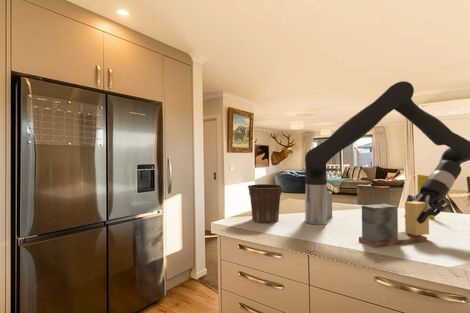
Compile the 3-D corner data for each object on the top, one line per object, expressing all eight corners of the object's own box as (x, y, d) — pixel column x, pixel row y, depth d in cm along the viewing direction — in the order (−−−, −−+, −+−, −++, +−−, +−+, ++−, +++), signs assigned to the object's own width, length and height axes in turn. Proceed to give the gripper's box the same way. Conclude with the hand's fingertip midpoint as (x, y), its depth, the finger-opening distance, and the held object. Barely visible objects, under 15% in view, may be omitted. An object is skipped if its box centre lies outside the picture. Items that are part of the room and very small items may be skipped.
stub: (415, 235, 89) (415, 203, 89) (405, 232, 93) (404, 202, 93) (429, 234, 91) (428, 202, 91) (418, 231, 94) (417, 201, 95)
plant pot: (276, 226, 109) (275, 188, 110) (242, 222, 117) (241, 186, 117) (287, 218, 124) (286, 185, 124) (256, 215, 131) (256, 183, 132)
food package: (435, 219, 119) (435, 176, 119) (433, 219, 119) (432, 176, 120) (419, 212, 134) (418, 174, 134) (416, 212, 134) (416, 174, 135)
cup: (335, 217, 125) (335, 192, 125) (317, 218, 124) (317, 193, 124) (327, 213, 134) (327, 190, 134) (310, 214, 133) (310, 191, 133)
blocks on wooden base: (374, 247, 82) (374, 208, 82) (358, 241, 89) (358, 205, 89) (426, 241, 88) (426, 204, 88) (408, 235, 95) (407, 201, 95)
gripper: (413, 176, 101) (389, 209, 97) (453, 179, 87) (426, 217, 84) (424, 189, 102) (400, 222, 99) (464, 194, 88) (439, 232, 85)
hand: (412, 220), depth 91 cm, fingers closed on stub, 4 cm apart
